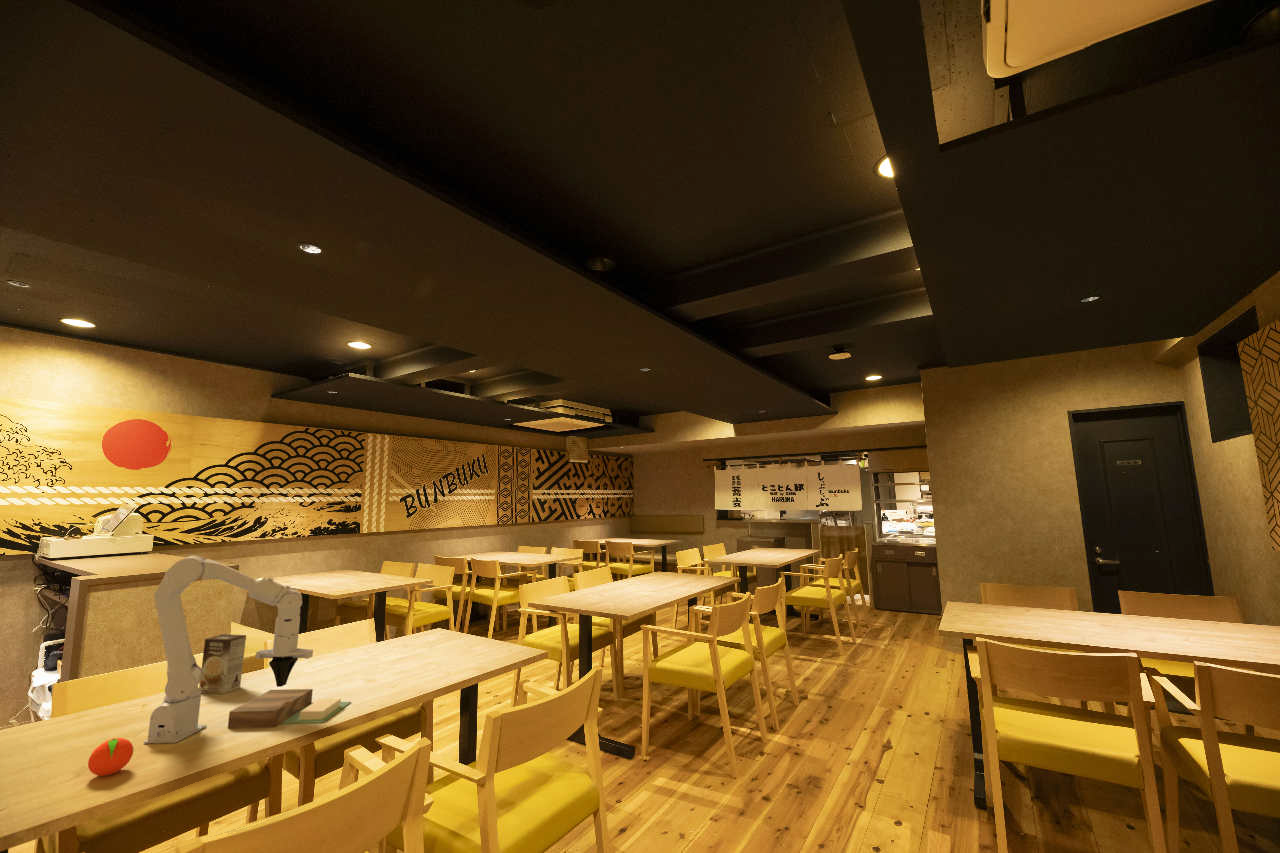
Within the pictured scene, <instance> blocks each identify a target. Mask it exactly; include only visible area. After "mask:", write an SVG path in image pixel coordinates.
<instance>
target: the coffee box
mask: <svg viewBox="0 0 1280 853" xmlns="http://www.w3.org/2000/svg"><path fill="white" fill-rule="evenodd" d="M246 640H247V635H246V634H230V633H229V634H228V633H221V634H219V635H214V636H211V637H208V638H207V637H206V638H205V639H204V644H203V646H204V647H203V652H202V653H203V654H202V661H201V669H202V670H203V678H202V680H201V681H200V683H199V684H198V688H199V689H200V690H201V694H217V695H218V694H221V695H222V694H223V695H224V694H226V693H229V692H231V691H235V690H236V689H238V688H241V684H242V676H243V675H242V674H243V666H244V657H245V656H244V655H245V649H246Z"/></svg>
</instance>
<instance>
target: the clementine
mask: <svg viewBox="0 0 1280 853" xmlns="http://www.w3.org/2000/svg"><path fill="white" fill-rule="evenodd" d="M133 754H134V746H133V744H132V742H131V741H130V740H129V739H126V738H123V737H118V738H112V739H109V740H106V741H104V742H103V743H100V745H98V746H97V747H96V748H95V749H94V750H93V751H92V753H91V754H90V756H89V759H88V760H87V767H88V769H89V771H90V772H91V773H92V774H93V775H95V776H97V777H98V776H100V777H105V776H110V775H113V774H115V773H117V772H119V771H120V770H122V769H123V768H125V767H126V766H127V764H128V763H129V762H130V761H131V759H132V757H133Z"/></svg>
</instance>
